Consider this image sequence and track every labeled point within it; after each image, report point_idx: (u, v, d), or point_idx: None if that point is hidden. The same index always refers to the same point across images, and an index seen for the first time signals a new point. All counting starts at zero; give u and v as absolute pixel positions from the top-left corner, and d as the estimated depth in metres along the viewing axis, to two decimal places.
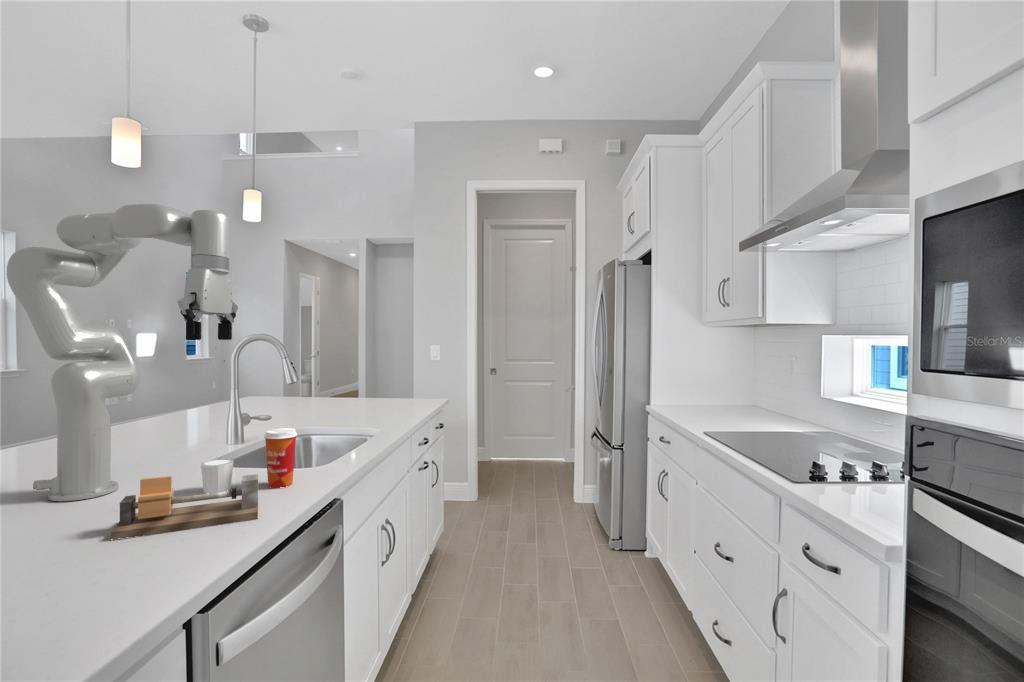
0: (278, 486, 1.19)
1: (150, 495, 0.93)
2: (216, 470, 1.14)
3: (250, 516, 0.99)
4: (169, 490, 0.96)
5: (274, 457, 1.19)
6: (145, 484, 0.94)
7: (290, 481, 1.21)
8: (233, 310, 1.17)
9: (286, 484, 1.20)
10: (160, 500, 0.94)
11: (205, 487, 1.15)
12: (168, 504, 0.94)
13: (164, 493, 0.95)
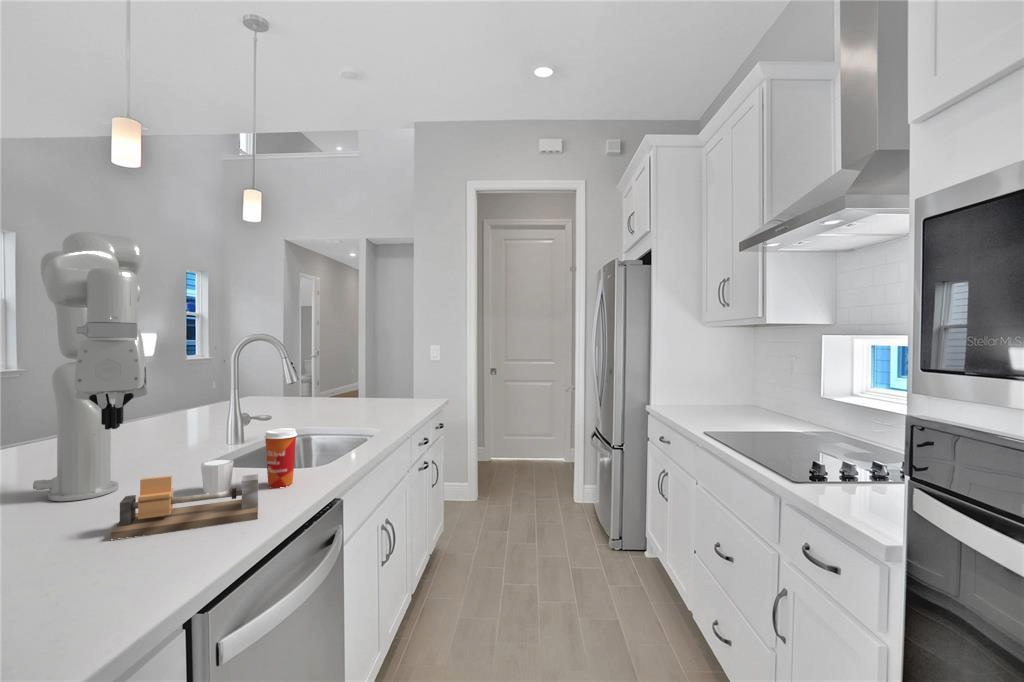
0: (278, 486, 1.19)
1: (150, 495, 0.93)
2: (216, 470, 1.14)
3: (250, 516, 0.99)
4: (169, 490, 0.96)
5: (274, 457, 1.19)
6: (145, 484, 0.94)
7: (290, 481, 1.21)
8: None
9: (286, 484, 1.20)
10: (160, 500, 0.94)
11: (205, 487, 1.15)
12: (168, 504, 0.94)
13: (164, 493, 0.95)
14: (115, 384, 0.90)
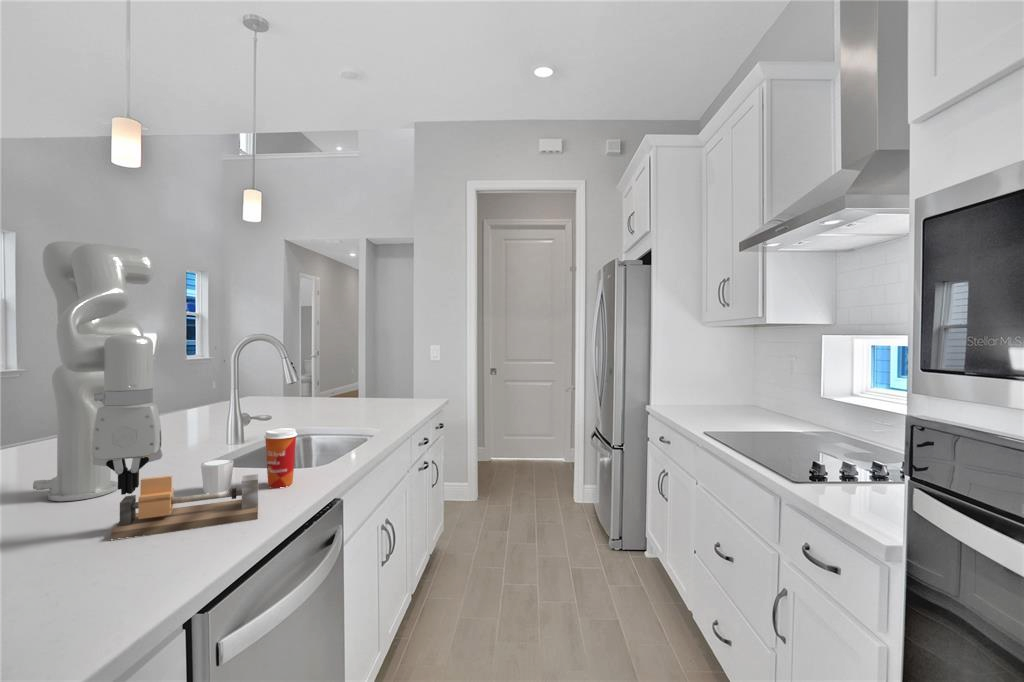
0: (278, 486, 1.19)
1: (151, 495, 0.93)
2: (216, 470, 1.14)
3: (250, 516, 0.99)
4: (169, 490, 0.96)
5: (274, 457, 1.19)
6: (145, 484, 0.94)
7: (290, 481, 1.21)
8: None
9: (286, 484, 1.20)
10: (160, 500, 0.94)
11: (205, 487, 1.15)
12: (168, 504, 0.94)
13: (164, 493, 0.95)
14: (131, 450, 0.91)
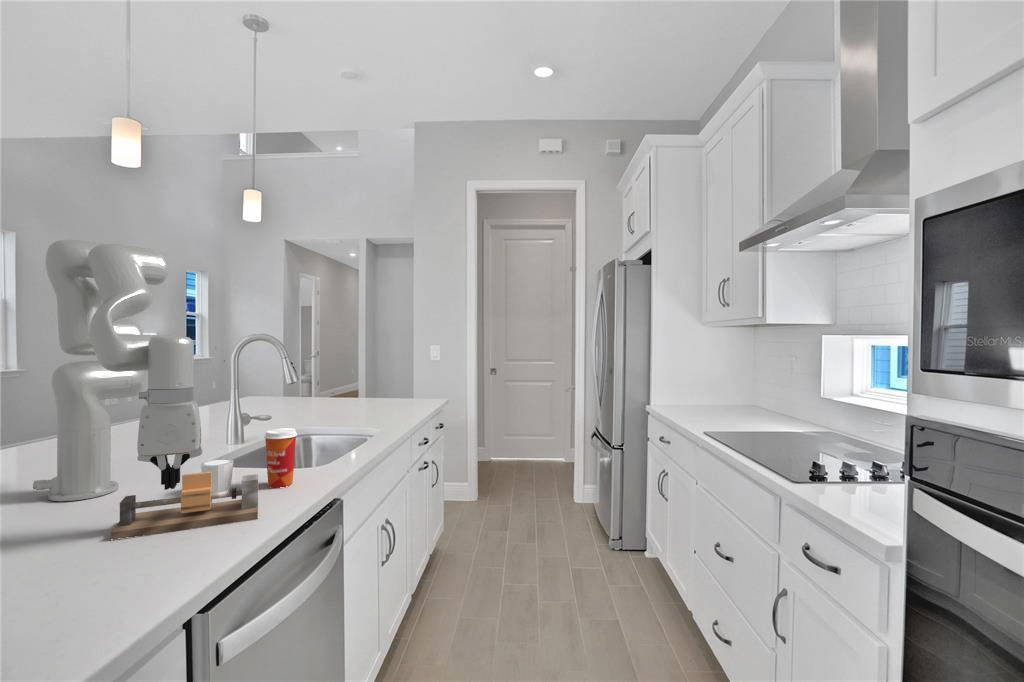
0: (278, 486, 1.19)
1: (192, 490, 0.96)
2: (216, 470, 1.14)
3: (250, 516, 0.99)
4: (209, 485, 0.99)
5: (274, 457, 1.19)
6: (187, 480, 0.97)
7: (290, 481, 1.21)
8: None
9: (286, 484, 1.20)
10: (201, 495, 0.97)
11: None
12: (209, 499, 0.98)
13: (205, 488, 0.98)
14: (174, 447, 0.94)
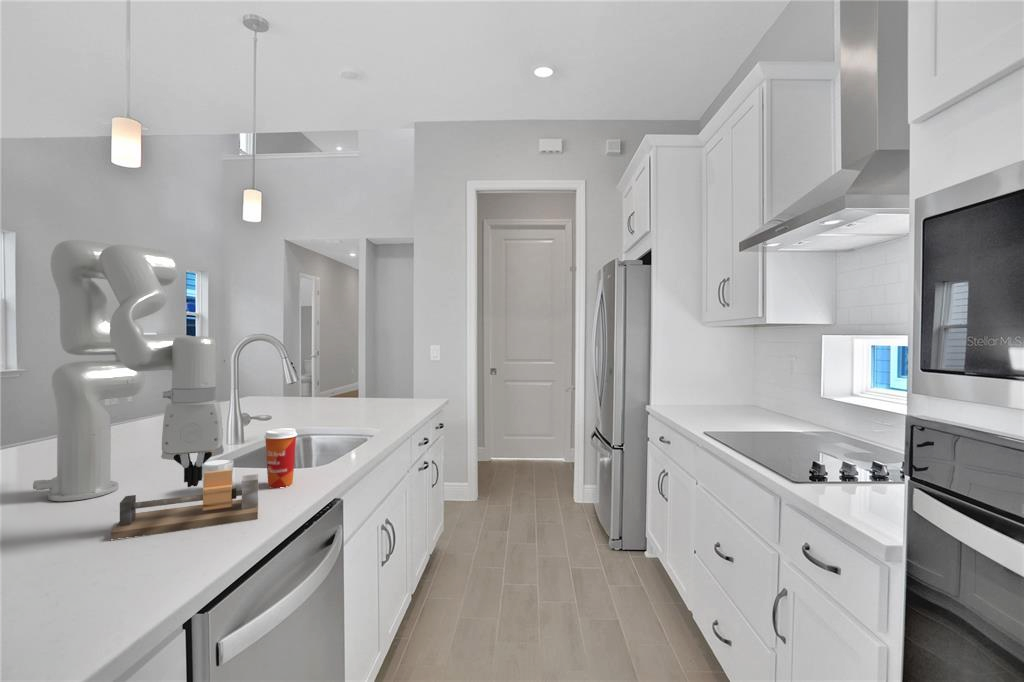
0: (278, 486, 1.19)
1: (214, 488, 0.98)
2: (216, 470, 1.14)
3: (250, 516, 0.99)
4: (230, 483, 1.01)
5: (274, 457, 1.19)
6: (208, 477, 0.99)
7: (290, 481, 1.21)
8: None
9: (286, 484, 1.20)
10: (223, 492, 0.99)
11: None
12: (230, 496, 0.99)
13: (226, 486, 1.00)
14: (197, 445, 0.96)
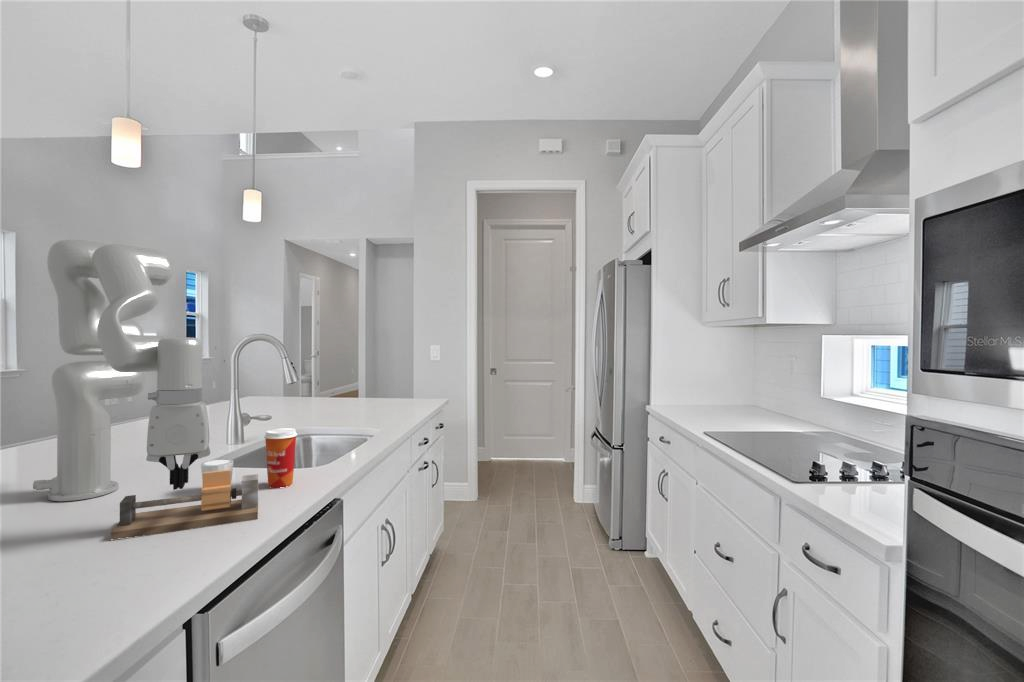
0: (278, 486, 1.19)
1: (213, 488, 0.98)
2: (216, 470, 1.14)
3: (250, 516, 0.99)
4: (229, 483, 1.01)
5: (274, 457, 1.19)
6: (207, 477, 0.99)
7: (290, 481, 1.21)
8: None
9: (286, 484, 1.20)
10: (221, 493, 0.99)
11: None
12: (228, 496, 0.99)
13: (224, 486, 0.99)
14: (183, 447, 0.95)
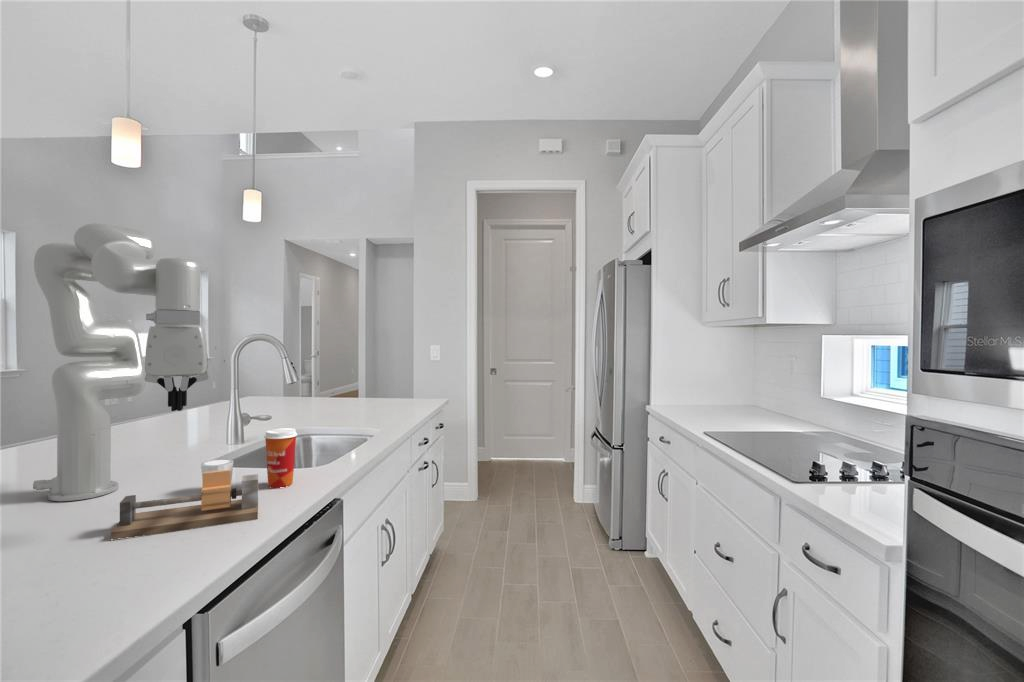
0: (278, 486, 1.19)
1: (213, 488, 0.98)
2: (216, 470, 1.14)
3: (250, 516, 0.99)
4: (229, 483, 1.01)
5: (274, 457, 1.19)
6: (207, 477, 0.99)
7: (290, 481, 1.21)
8: None
9: (286, 484, 1.20)
10: (221, 493, 0.99)
11: None
12: (228, 496, 0.99)
13: (224, 486, 0.99)
14: (181, 368, 0.95)
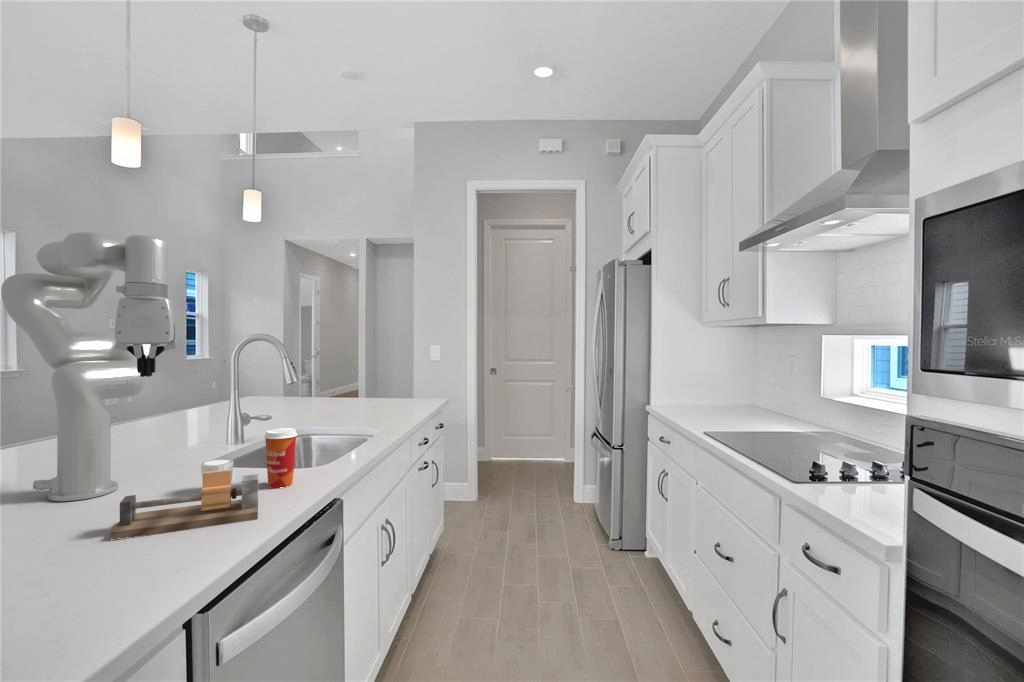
0: (278, 486, 1.19)
1: (213, 488, 0.98)
2: (216, 470, 1.14)
3: (250, 516, 0.99)
4: (229, 483, 1.01)
5: (274, 457, 1.19)
6: (207, 477, 0.99)
7: (290, 481, 1.21)
8: None
9: (286, 484, 1.20)
10: (221, 493, 0.99)
11: None
12: (228, 496, 0.99)
13: (224, 486, 0.99)
14: (149, 337, 1.03)
